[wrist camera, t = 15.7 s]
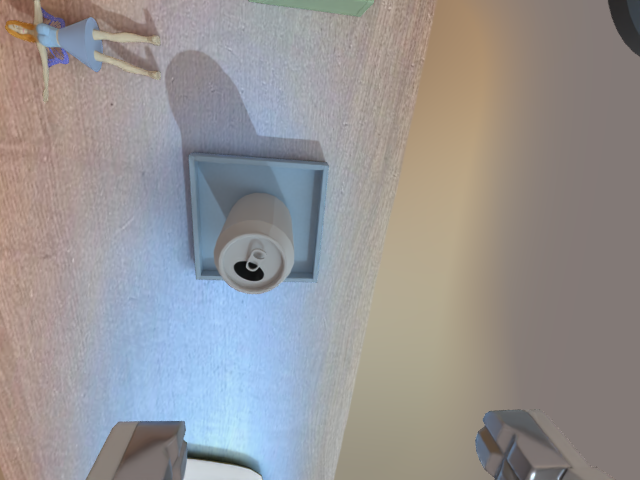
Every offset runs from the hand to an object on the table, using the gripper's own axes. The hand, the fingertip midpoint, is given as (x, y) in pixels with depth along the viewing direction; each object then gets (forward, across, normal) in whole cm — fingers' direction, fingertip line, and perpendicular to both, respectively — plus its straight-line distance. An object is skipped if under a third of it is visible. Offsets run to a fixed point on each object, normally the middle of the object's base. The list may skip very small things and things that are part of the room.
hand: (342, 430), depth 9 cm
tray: (+33, +4, +6) cm, 34 cm away
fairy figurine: (+33, +20, -11) cm, 40 cm away
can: (+33, +4, +6) cm, 33 cm away
